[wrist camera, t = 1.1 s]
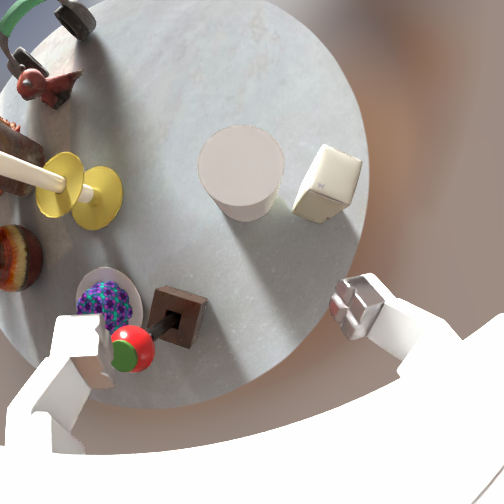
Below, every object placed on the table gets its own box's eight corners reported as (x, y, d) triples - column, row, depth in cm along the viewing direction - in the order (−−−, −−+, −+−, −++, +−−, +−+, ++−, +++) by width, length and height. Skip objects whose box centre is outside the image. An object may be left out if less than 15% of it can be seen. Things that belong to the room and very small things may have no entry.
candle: (110, 154, 38) (-12, 69, 12) (132, 208, 38) (-16, 152, 11) (64, 188, 39) (-66, 142, 12) (82, 242, 38) (-67, 230, 11)
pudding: (144, 353, 38) (130, 365, 33) (78, 337, 38) (60, 345, 33) (147, 272, 38) (132, 274, 33) (79, 262, 38) (59, 263, 33)
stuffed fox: (94, 78, 39) (62, 44, 27) (52, 123, 39) (12, 98, 27) (79, 64, 39) (49, 32, 27) (40, 105, 39) (5, 81, 27)
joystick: (198, 303, 38) (148, 343, 19) (191, 330, 38) (140, 387, 19) (171, 294, 38) (102, 324, 19) (165, 321, 38) (97, 368, 19)
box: (320, 225, 38) (350, 210, 25) (289, 213, 38) (305, 192, 25) (332, 189, 38) (365, 160, 25) (302, 177, 38) (322, 142, 25)
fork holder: (207, 298, 38) (201, 303, 33) (197, 339, 38) (189, 349, 33) (166, 285, 38) (155, 288, 34) (157, 325, 38) (145, 333, 33)
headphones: (85, 20, 39) (48, -31, 19) (106, 31, 39) (65, -28, 19) (26, 79, 39) (-24, 41, 19) (40, 97, 39) (-19, 54, 19)
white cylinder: (231, 153, 38) (221, 113, 26) (286, 177, 38) (298, 145, 26) (205, 206, 38) (182, 184, 26) (260, 231, 38) (261, 220, 26)
